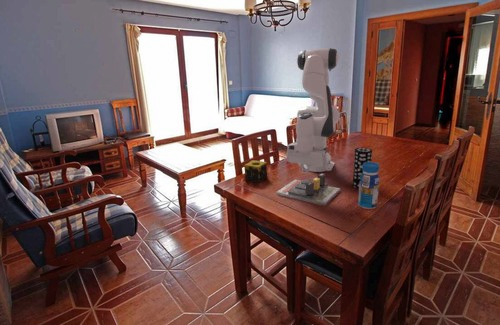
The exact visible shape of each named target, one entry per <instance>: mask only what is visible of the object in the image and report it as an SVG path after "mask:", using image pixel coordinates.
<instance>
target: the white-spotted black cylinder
mask: <svg viewBox="0 0 500 325" xmlns="http://www.w3.org/2000/svg"><path fill="white" fill-rule="evenodd" d="M372 156H373V149H371V148H368V147H358V148H357V147H356V148H355V149H354V157H353V158H354V159H353V174H352V175H353V176H352V187H353V188H355V189H358V190H359V182H360V176H361V174H362V173H363V170H362V166H363V163H365V162H372V158H373V157H372Z"/></svg>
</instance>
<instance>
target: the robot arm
mask: <svg viewBox="0 0 500 325" xmlns="http://www.w3.org/2000/svg"><path fill="white" fill-rule="evenodd" d="M338 63H339V53H338V51H337V49H335V48H332V47H331V48H315V49H309V50H301V51H299V53H298V55H297V58H296V64H297V67H298V68H299V69H300V70H301V71H303V72H302V79H301V80H302V82H301V83H302V84H301V85H302V88H303V89H304V90H305V92H306V93H308V96H309V98H310V99H311V100H313V101H314V102H315V103H316V104H317V106H313V105H311V106H307V105H306V106H302V107H300V108H299V109H298V111H297V113H296V123H295V130H296V131H295V132H296V133H295V134H296V139H295V140H296V141H294V142H292V143H289V144H288V145H287V147H286V148H287V150H286V161H287V162H288V163H291V164H299V166H300V168H301V172H302V173H305V174H308V173H309V172H313V173H317V172H318V173H322V172H330V171H332V169H333V167H334V166H335V162H333V161H332V156H331V154H330V153H329V152H328V149H329V147H330V146H329V145H327V138H329V137H331V136H333V135H334V134H335V131H336V125H337V123H338V122H339V119H340V115H341V114H340V112H339V109H337V107H335V106H334V105H333V102H332V101H333V100H332V93H331V88H330V86H329V80H330V79H329V78H330V76H329V72H332V70H333V69H335V68H336V67H337V65H338Z"/></svg>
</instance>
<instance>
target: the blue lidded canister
mask: <svg viewBox="0 0 500 325" xmlns="http://www.w3.org/2000/svg"><path fill="white" fill-rule="evenodd" d="M362 170H363V173H362V174H361V176H360V182H359V189H358V201H357V202H358V203H357V204H358V206H359V207H360V208H363V209H367V210H372V209H376V208H377V207H378V198H379V191H380V190H379V189H380V180H381V179H380V175H379V174H378V173H379V170H380V164H379V163H377V162H373V161H371V162H365V163H363V166H362Z"/></svg>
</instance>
